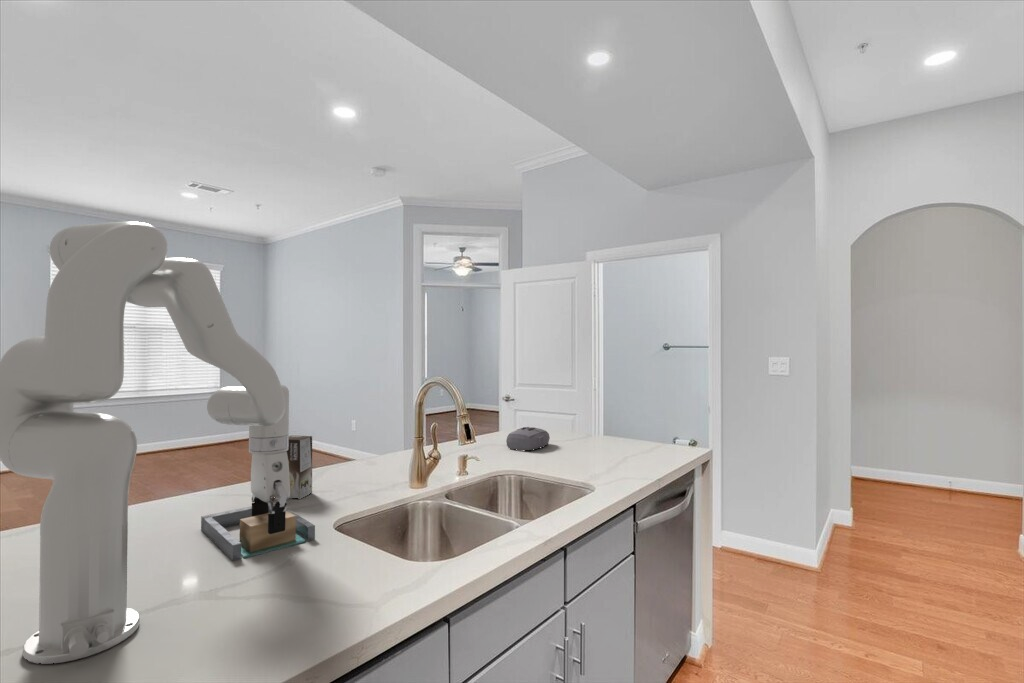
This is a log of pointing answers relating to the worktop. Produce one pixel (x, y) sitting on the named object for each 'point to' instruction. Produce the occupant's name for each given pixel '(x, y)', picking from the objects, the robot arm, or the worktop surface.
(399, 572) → the worktop surface
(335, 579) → the worktop surface
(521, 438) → the grey rounded bag
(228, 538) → the bay
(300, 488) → the coffee box
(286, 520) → the tan cardboard box
